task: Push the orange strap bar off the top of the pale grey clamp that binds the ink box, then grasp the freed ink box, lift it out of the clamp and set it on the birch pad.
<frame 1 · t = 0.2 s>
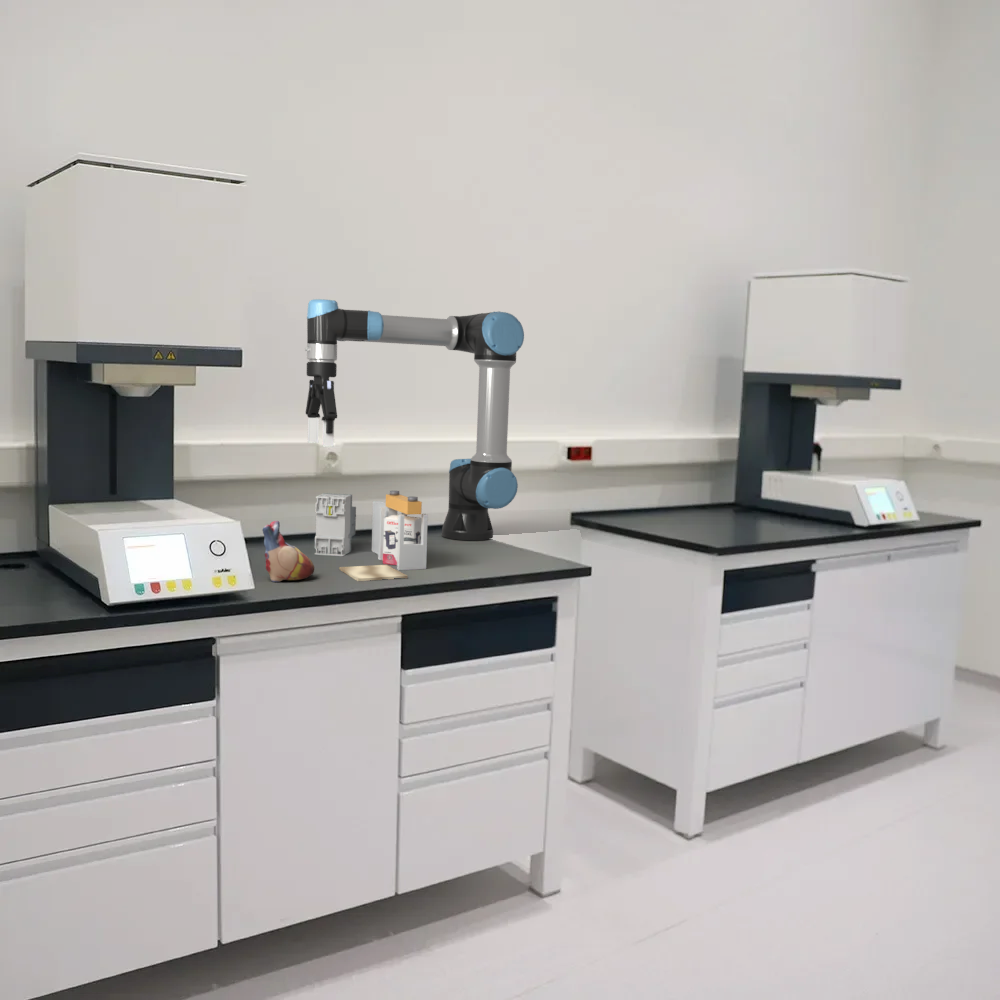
hand: (320, 444, 257), 28 cm above the countertop, fingers open, 13 cm apart
circuit breaker: (336, 551, 263), on the countertop
anatomical model: (289, 580, 224), on the countertop
birch pad: (372, 573, 234), on the countertop
strap bar: (403, 502, 246), point 16 cm above the countertop, slide at 0.0 cm
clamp: (401, 563, 248), on the countertop
ink box: (401, 564, 248), on the countertop
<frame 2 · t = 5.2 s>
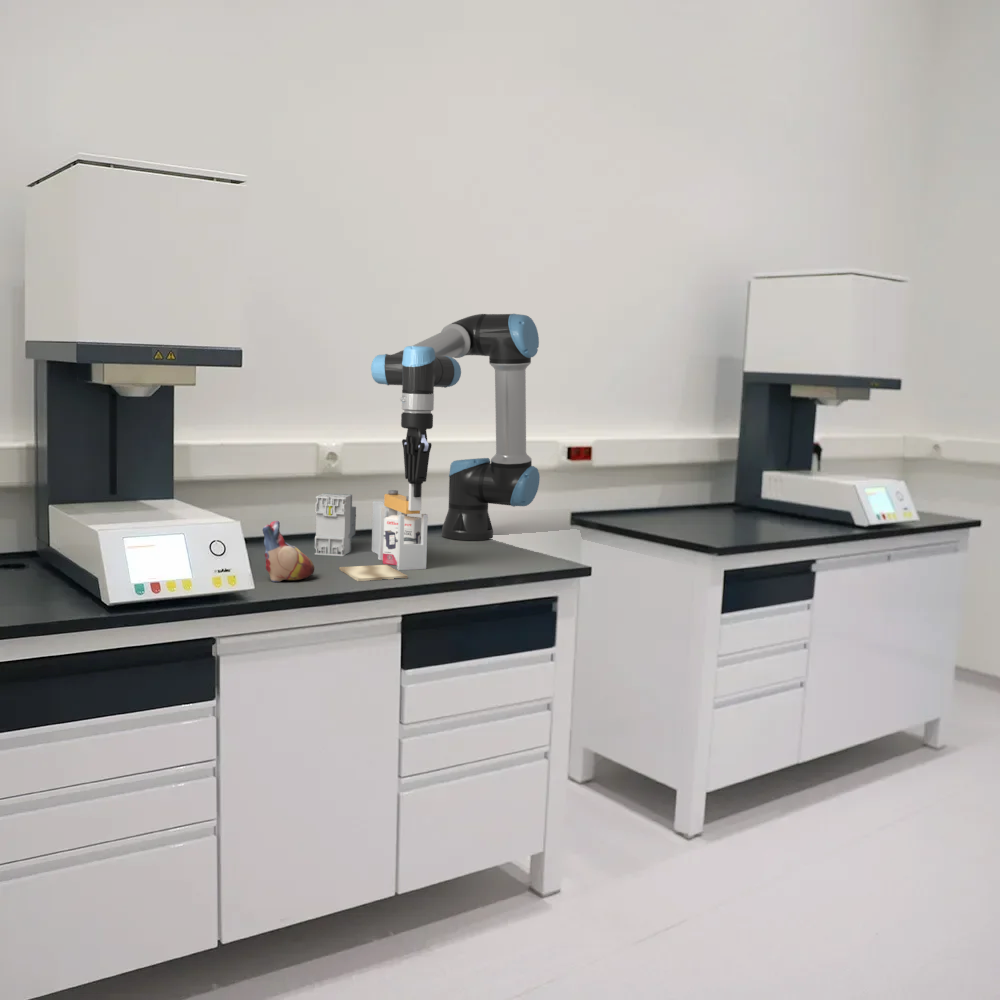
hand: (414, 510, 240), 14 cm above the countertop, fingers closed
strap bar: (401, 501, 247), point 16 cm above the countertop, slide at 1.0 cm, touching gripper
everything else where it was.
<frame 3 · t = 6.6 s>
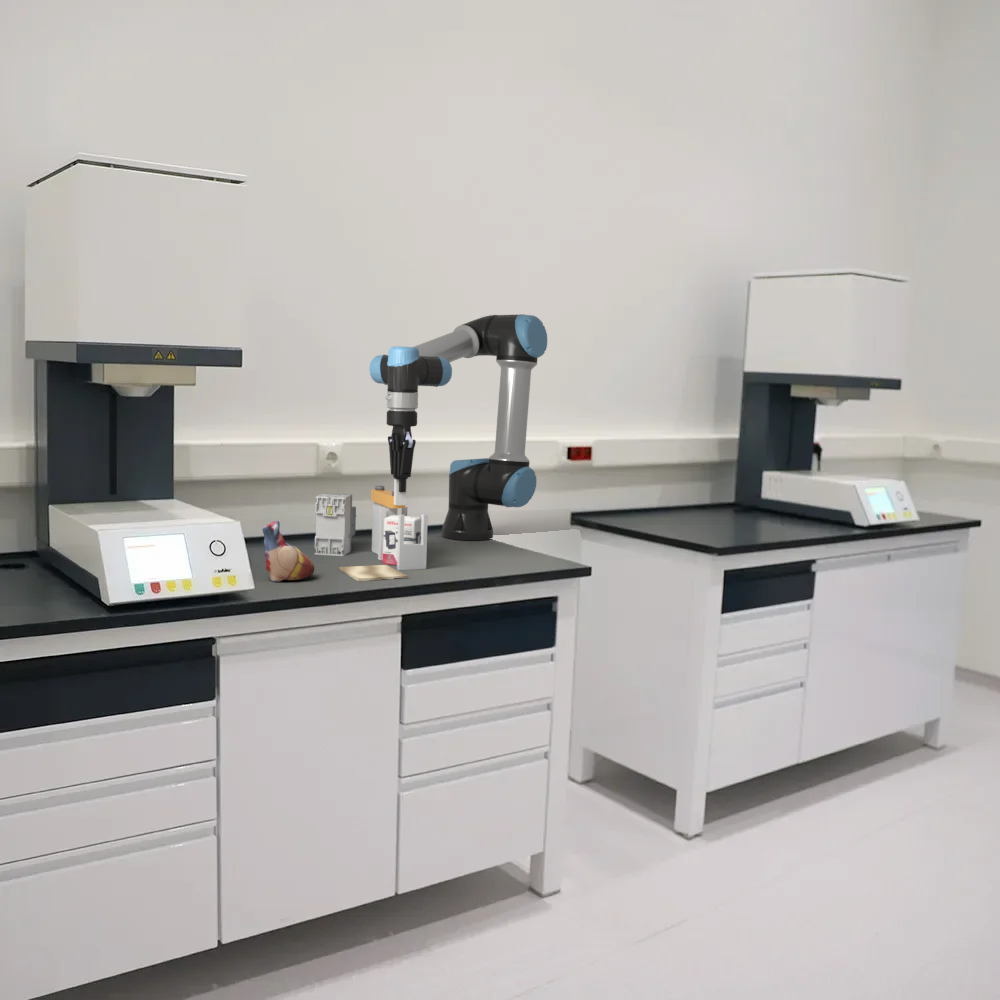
hand: (399, 504, 249), 14 cm above the countertop, fingers closed
strap bar: (387, 496, 256), point 16 cm above the countertop, slide at 11.0 cm, touching gripper
everything else where it was.
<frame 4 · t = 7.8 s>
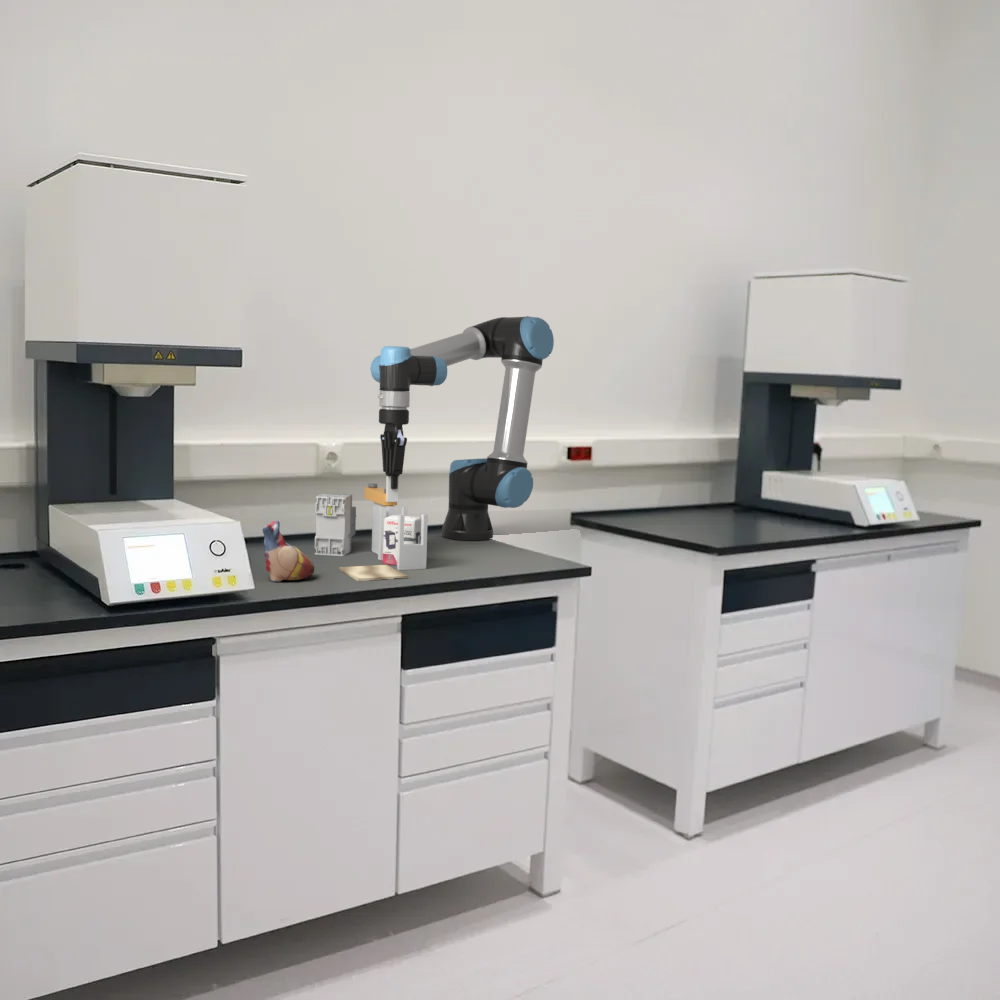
hand: (391, 501, 253), 15 cm above the countertop, fingers closed
strap bar: (380, 494, 261), point 16 cm above the countertop, slide at 16.6 cm, touching gripper
everything else where it was.
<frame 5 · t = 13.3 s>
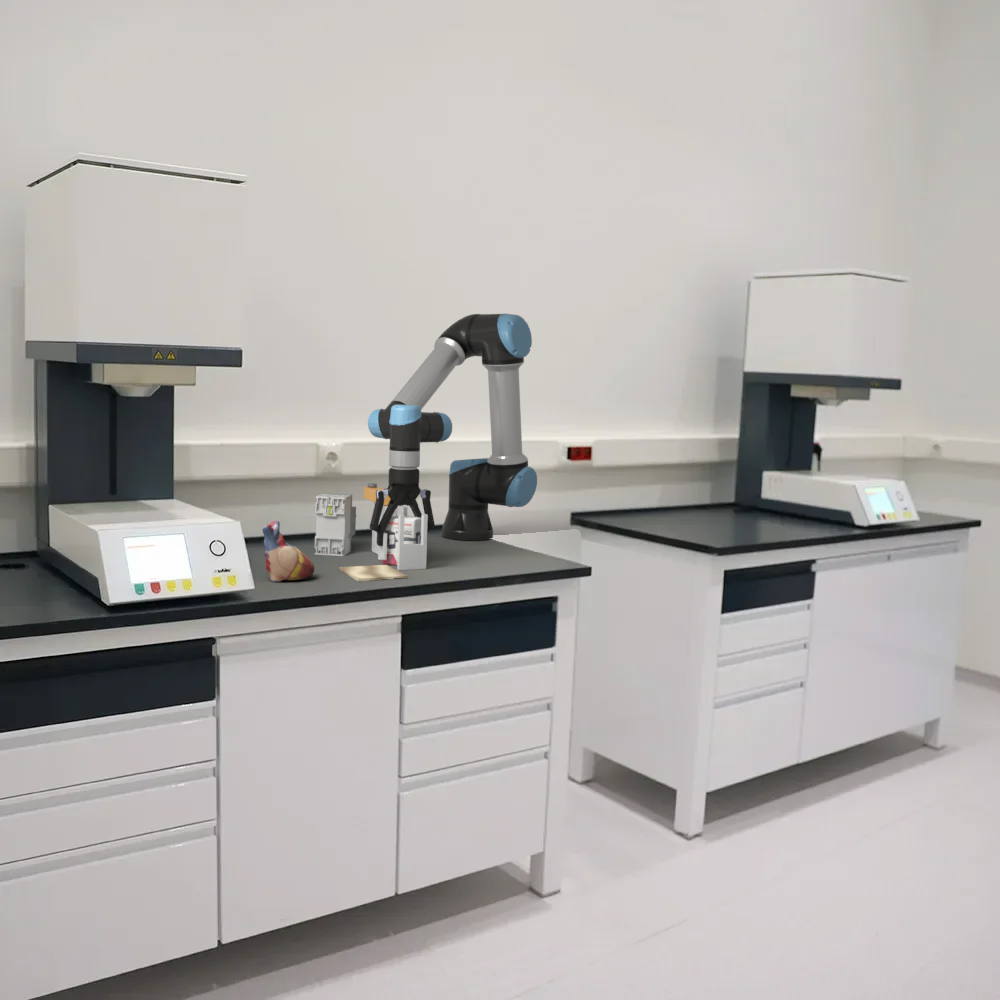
hand: (401, 557, 248), 2 cm above the countertop, fingers closed on ink box, 9 cm apart
strap bar: (379, 493, 261), point 16 cm above the countertop, slide at 17.0 cm
ink box: (401, 564, 248), on the countertop, touching gripper
everything else where it was.
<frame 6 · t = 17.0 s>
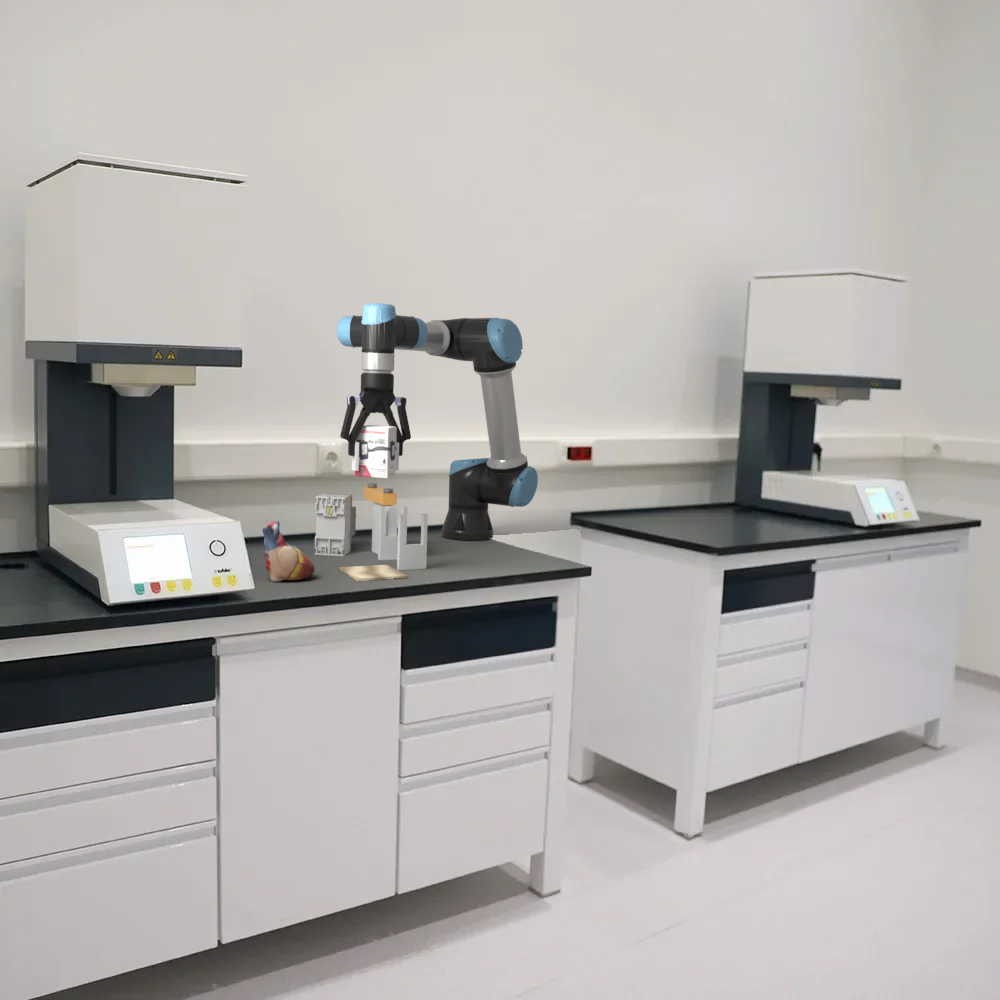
hand: (375, 470, 231), 24 cm above the countertop, fingers closed on ink box, 9 cm apart
ink box: (375, 477, 231), point 23 cm above the countertop, touching gripper
everything else where it was.
when the fingers open (3 cm above the countertop, at t = 20.7 s): ink box stays where it is, resting on birch pad.
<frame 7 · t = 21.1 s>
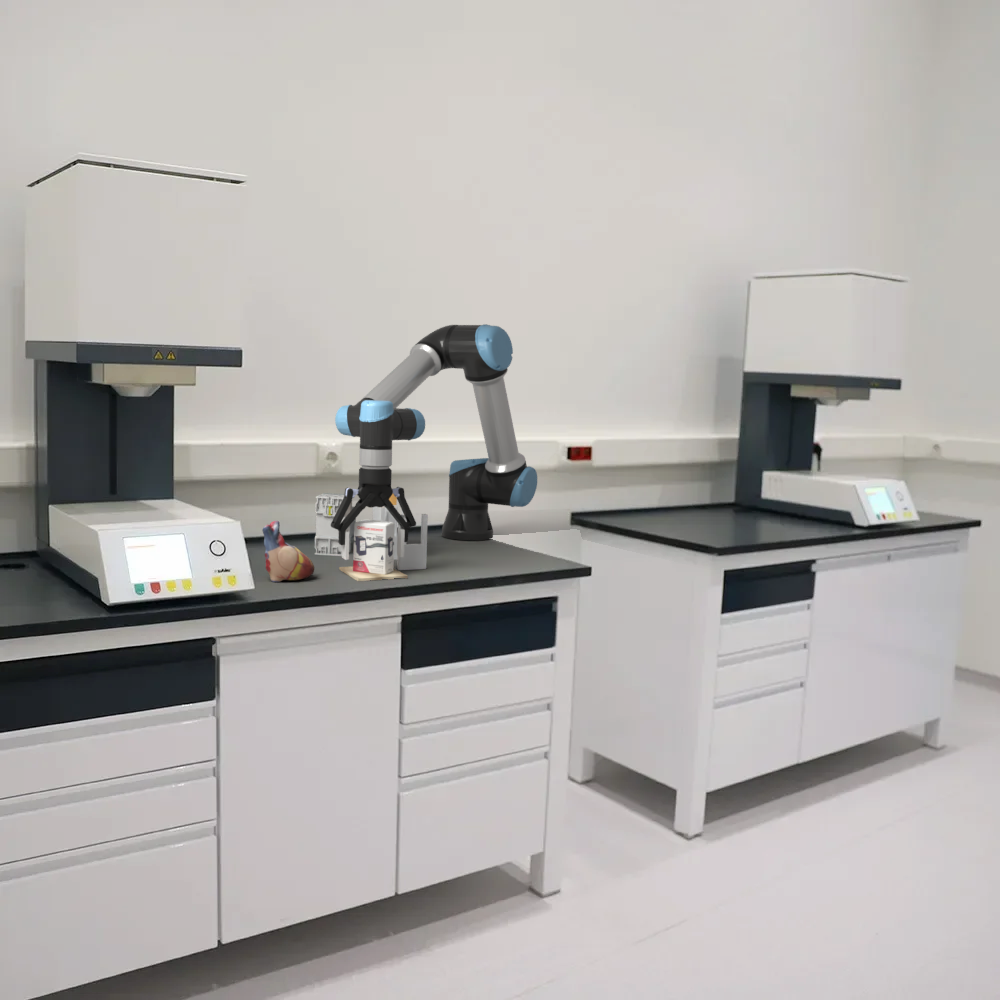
hand: (373, 557, 234), 4 cm above the countertop, fingers open, 13 cm apart
ink box: (373, 572, 234), resting on birch pad
everything else where it was.
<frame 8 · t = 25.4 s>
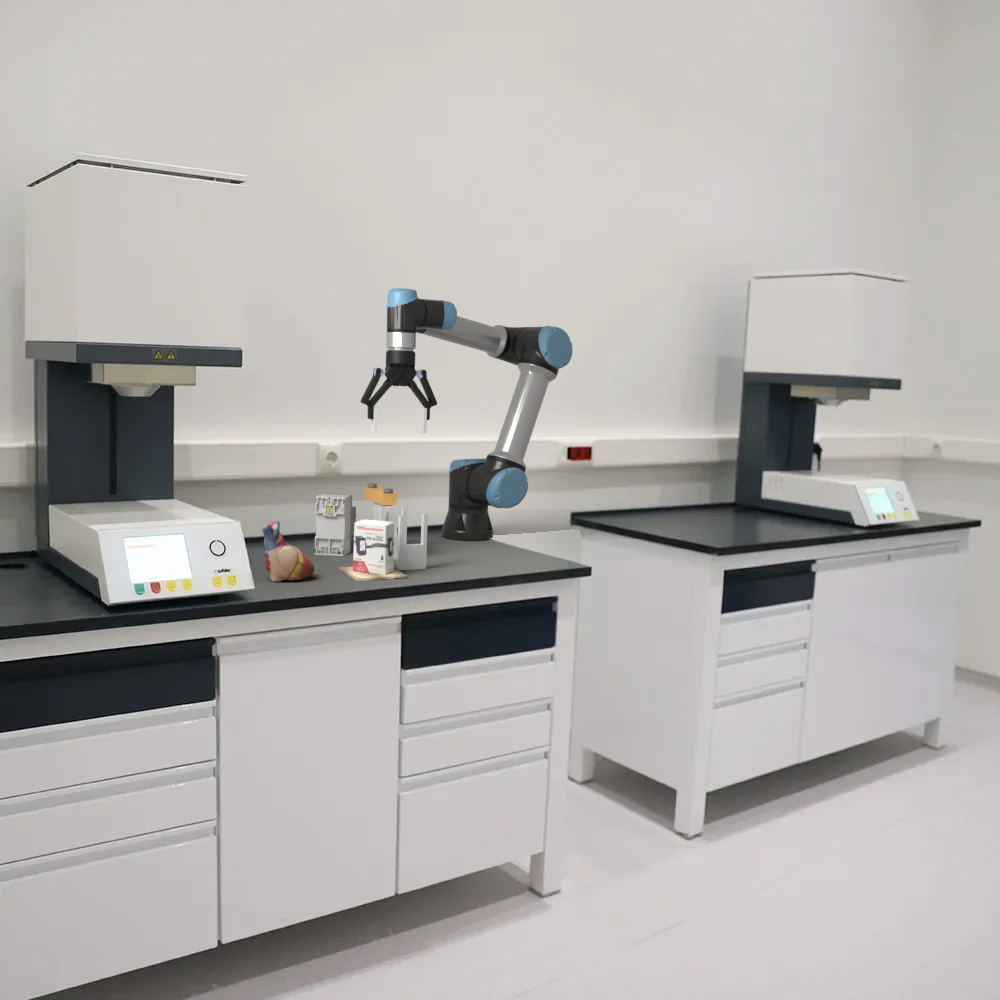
hand: (398, 432, 259), 32 cm above the countertop, fingers open, 13 cm apart
nothing on the countertop moved.
at the end: strap bar slide at 17.0 cm; ink box inside the target area on the birch pad (0.0 cm from its centre), point 0.4 cm above the birch pad's base; ink box tilted 0° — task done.
